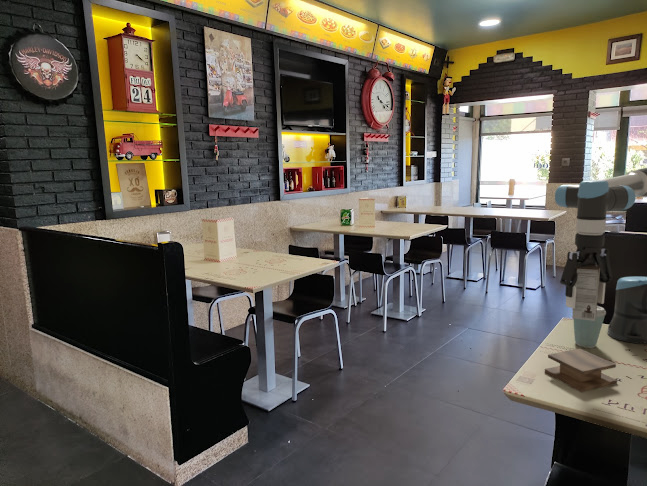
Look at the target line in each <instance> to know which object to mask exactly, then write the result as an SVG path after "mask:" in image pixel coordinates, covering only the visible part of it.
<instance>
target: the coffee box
mask: <svg viewBox="0 0 647 486" xmlns="http://www.w3.org/2000/svg"><path fill="white" fill-rule="evenodd" d="M579 263H580V262H579ZM577 273H578V277H577V282H576V283H575V285H574V286H575V287H576V302H575V308H572V309H573V310H572V319H573V318H574V319H582V320H591V321H596V312H597V306H598V303H597V300H598V288H599V275H600V266H599V265H598V264H589V265H587V266H585V267H583V266H582V267H581V266H576V269H575V274H577ZM574 319H573V320H574Z"/></svg>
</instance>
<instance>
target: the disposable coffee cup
mask: <svg viewBox="0 0 647 486" xmlns="http://www.w3.org/2000/svg"><path fill="white" fill-rule="evenodd" d="M571 310H572V311H573V308H571ZM606 315H607V311H606V309H605V308H604V307H602V306H599V305H597V312H596V321H591V320H582V319H574V318H572V320H573V331H574V342H575V344H576V345H577V346H579V347H581V348H588V349H593V348H595V347H596V345H597V343H598V339H599V337H600V333H601V329H602V326H603V323H604V319H605V316H606Z"/></svg>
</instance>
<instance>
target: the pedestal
mask: <svg viewBox="0 0 647 486" xmlns="http://www.w3.org/2000/svg"><path fill="white" fill-rule="evenodd" d="M547 359H550V360H552V361H554V362H556V363H558V364H559V365H557V366H553V367H548V368H545V369H544V373H545V374H546V375H548V376H551V378H554V379H556V380H558V381H559V382H562V383H563V384H565V385H567V386H569V387H571V388H573V389H575V390H576V391H578V392H581V393H584V392H589V391H592V390H597V389H600V388H601V389H602V388H605V387H609V386H615V385H617V384H618V379H615V378H614V377H611V376H609V375H607V374H605V373H603V372H602V371H605V370H609V369H610V370H611V369H614V368H616V367H617V366H616V365H617V364H616V363H614V362H612V361H610V360H607V359H605V358H602V357H600V356H597V355H595V354H593V353H591V352H589V351H586V350H585V349H582V348H575V349H570V350H565V351H560V352H555V353H548V354H547Z"/></svg>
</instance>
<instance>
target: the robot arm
mask: <svg viewBox="0 0 647 486" xmlns="http://www.w3.org/2000/svg"><path fill="white" fill-rule="evenodd" d="M640 197H643V198H644V197H645V198H647V167H643V168H638V169H635V170H630V171H628V172H626V173H625V174H624V175H619V176H618V175H617V176H614V177H607V178H604V179H598V180H582V181H581V182H580V183H578V184H569V183H568V184H562V185H559V186H558V187H557V188H556V189H555V193H554V201H555V203H556V204H557V206H558V207H561V208H567V209H569V208H571V209H577V212H576V214H577V215H576V225H575V231H576V232H577V233H575V236H574V237H575V238H574V245H575V246H576V250H575V251H567V254H566V255H567V256H566V257H567V259H566V262H565V266H564V269H563V271H562V275H561V278H560V281H559V283H560V284H561V285H564V286H565V293H564V294H565V295H564V296H565V307H568V308H571V309H573V308H575V302H576V287H575V286H574V285H575V283H576V282H577V277H578V273H577V274H575V269H576V266H581V267H582V266H583V267H585V266H587V265H589V264H598V265H599V266H600V275H599V288H598V300H597V304H600V305H601V304H602V305H603V304H604V303H605V297H606V296H605V294H606V289H607V284H610V283H611V280H612V279H613V273H612V266H611V261H610V249H608V248H603V247H604V246H605V239H606V238H605V237H606V236H605V232H606V225H607V224H606V223H607V213H608V212H621V211H624V210H628V209H630V208H631V207H632V206H633V205H634V204H635V201H636V199H637V198H640ZM579 262H580V263H579ZM614 299H615V302H614V312H613V315H612V318H611V320H610V322H609V324H608V326H607V331H606V332H607V335H608V336H610V337H611V338H612V339H615V340H618V341H622V342H625V343H627V342H628V343H633V344H647V276H624V277H620V278H619V279H618V280H617V283H616V288H615V298H614Z"/></svg>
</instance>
